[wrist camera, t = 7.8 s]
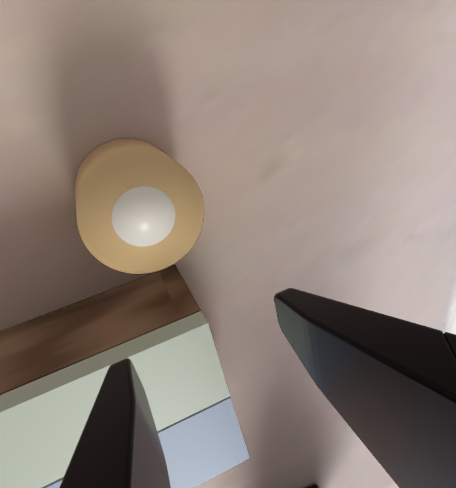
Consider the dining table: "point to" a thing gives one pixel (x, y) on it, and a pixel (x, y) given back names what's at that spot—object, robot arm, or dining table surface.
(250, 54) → the dining table surface
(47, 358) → the walnut box
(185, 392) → the sage flap
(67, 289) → the dining table surface
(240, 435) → the slate flap
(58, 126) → the dining table surface
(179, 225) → the tan rounded cylinder
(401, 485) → the robot arm
